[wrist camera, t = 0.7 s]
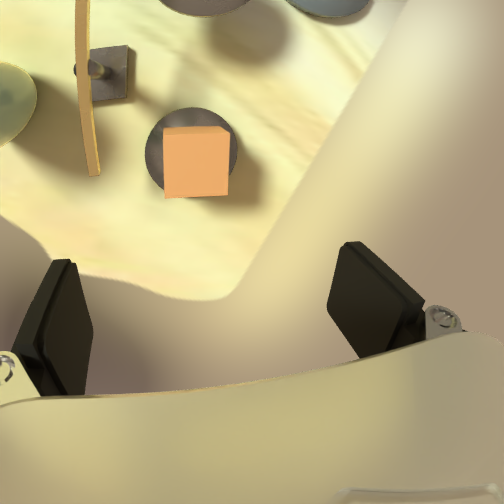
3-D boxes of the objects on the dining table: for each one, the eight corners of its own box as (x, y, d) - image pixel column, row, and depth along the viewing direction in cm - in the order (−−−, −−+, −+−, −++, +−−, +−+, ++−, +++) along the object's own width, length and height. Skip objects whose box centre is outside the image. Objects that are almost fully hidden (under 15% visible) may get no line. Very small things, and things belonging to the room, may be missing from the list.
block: (163, 127, 25) (163, 135, 21) (219, 126, 27) (230, 133, 22) (164, 180, 28) (164, 198, 24) (217, 178, 29) (227, 195, 25)
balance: (97, -36, 16) (69, -86, 7) (246, -39, 20) (287, -89, 10) (92, 199, 28) (62, 256, 18) (232, 190, 31) (264, 240, 22)
